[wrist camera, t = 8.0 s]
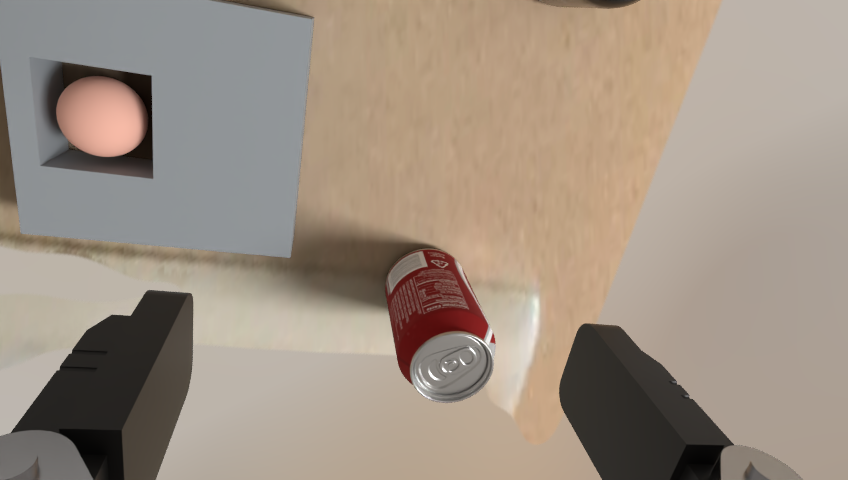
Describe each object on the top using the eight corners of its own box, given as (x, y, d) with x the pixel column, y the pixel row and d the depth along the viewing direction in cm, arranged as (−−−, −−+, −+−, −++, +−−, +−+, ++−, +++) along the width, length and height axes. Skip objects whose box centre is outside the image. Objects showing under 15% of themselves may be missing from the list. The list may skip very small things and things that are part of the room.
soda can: (370, 266, 44) (382, 354, 33) (444, 231, 44) (481, 307, 33) (404, 327, 47) (426, 425, 36) (474, 294, 46) (517, 383, 36)
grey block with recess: (26, -37, 32) (-13, -41, 28) (314, 17, 36) (312, 19, 32) (50, 211, 38) (20, 233, 34) (294, 235, 42) (290, 257, 38)
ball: (92, 86, 30) (165, 83, 34) (32, 69, 31) (109, 68, 36) (98, 171, 32) (166, 158, 36) (41, 151, 33) (113, 141, 38)
